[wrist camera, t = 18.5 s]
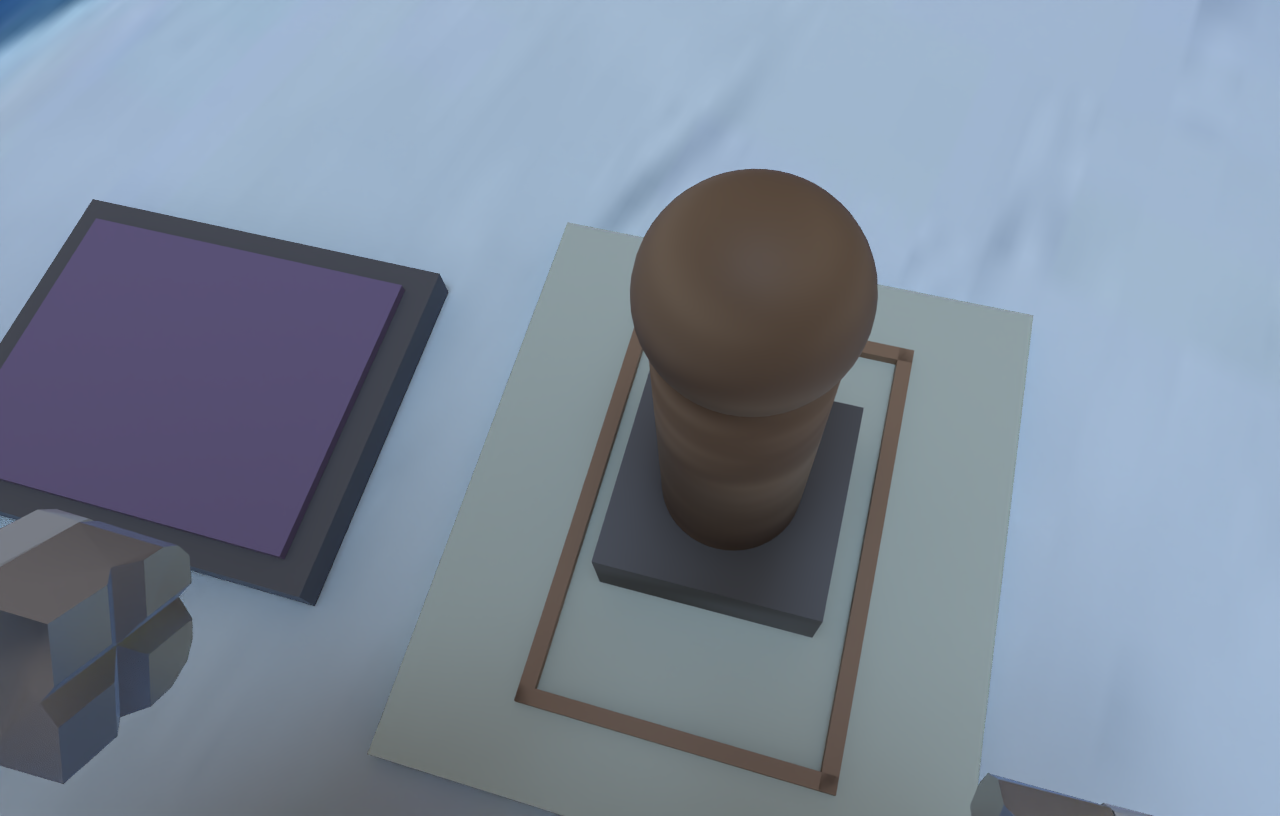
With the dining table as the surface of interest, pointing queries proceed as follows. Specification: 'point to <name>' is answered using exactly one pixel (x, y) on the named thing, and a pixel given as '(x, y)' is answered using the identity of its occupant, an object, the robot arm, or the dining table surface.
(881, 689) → the print card
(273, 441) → the ink pad
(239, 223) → the dining table surface
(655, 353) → the stamp
